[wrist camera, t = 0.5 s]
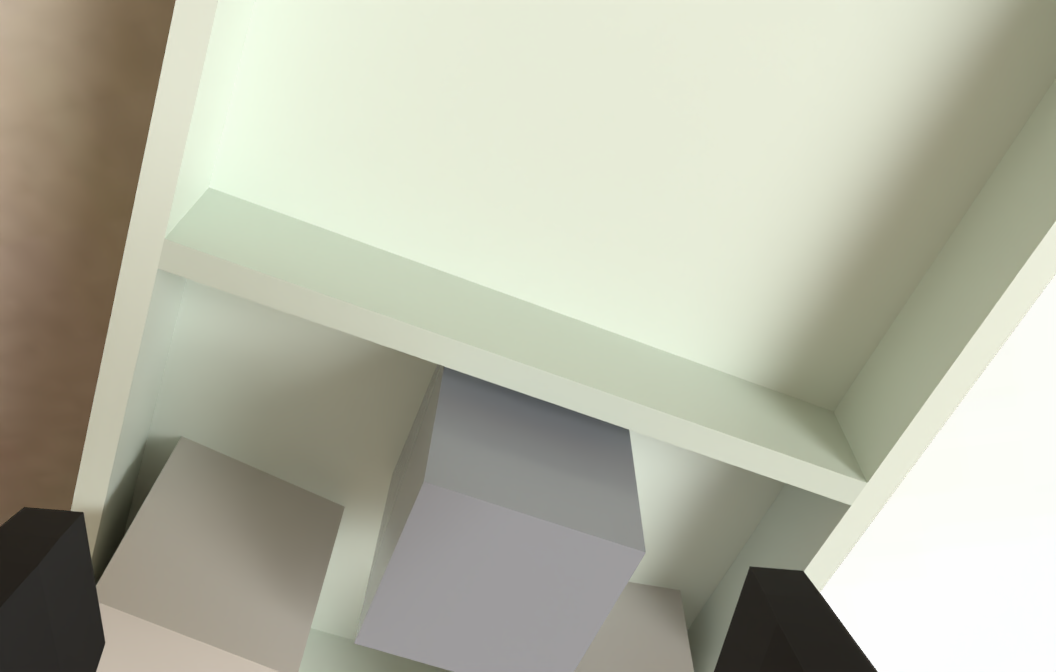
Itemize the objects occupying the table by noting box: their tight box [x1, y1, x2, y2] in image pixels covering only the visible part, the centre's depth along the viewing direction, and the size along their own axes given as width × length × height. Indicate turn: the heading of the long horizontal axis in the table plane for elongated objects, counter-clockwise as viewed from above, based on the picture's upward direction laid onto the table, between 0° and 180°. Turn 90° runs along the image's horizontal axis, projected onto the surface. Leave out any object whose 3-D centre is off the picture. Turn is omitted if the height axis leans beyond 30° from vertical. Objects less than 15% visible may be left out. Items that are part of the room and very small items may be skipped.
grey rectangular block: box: [354, 364, 646, 672], centre depth 19 cm, size 4×4×5 cm
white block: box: [96, 436, 345, 672], centre depth 21 cm, size 4×4×5 cm
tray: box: [71, 0, 1056, 672], centre depth 19 cm, size 22×15×3 cm
